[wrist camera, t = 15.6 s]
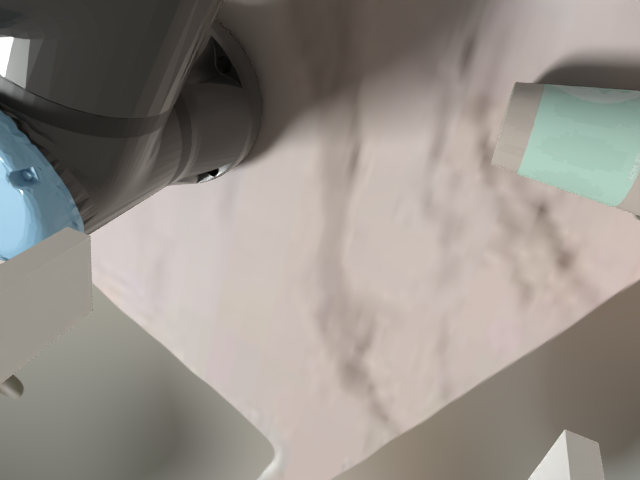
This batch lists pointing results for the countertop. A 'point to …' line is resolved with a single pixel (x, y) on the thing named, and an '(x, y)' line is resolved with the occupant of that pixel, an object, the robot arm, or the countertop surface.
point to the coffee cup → (575, 141)
